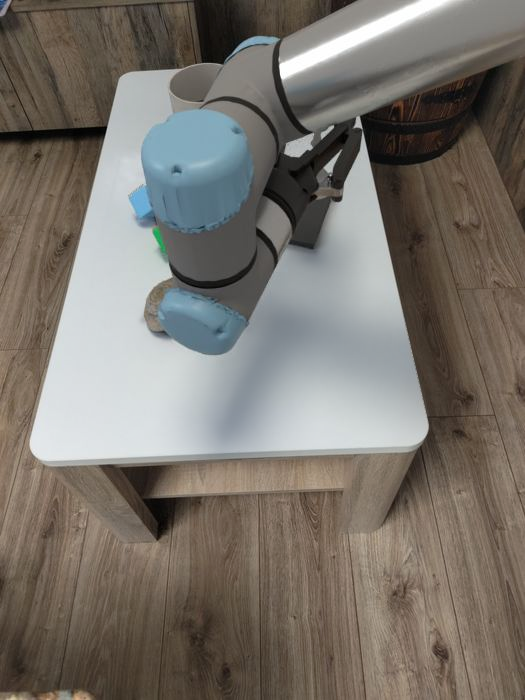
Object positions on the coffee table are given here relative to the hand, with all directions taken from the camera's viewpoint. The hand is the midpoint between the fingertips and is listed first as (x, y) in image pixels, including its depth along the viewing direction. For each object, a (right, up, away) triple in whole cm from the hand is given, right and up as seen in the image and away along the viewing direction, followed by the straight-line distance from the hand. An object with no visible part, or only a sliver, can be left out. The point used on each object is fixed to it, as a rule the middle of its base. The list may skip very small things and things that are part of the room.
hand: (332, 94), depth 62 cm
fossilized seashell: (-20, -27, +13) cm, 36 cm away
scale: (-5, -9, +23) cm, 25 cm away
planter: (-19, +10, +36) cm, 42 cm away
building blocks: (-25, -12, +22) cm, 36 cm away
